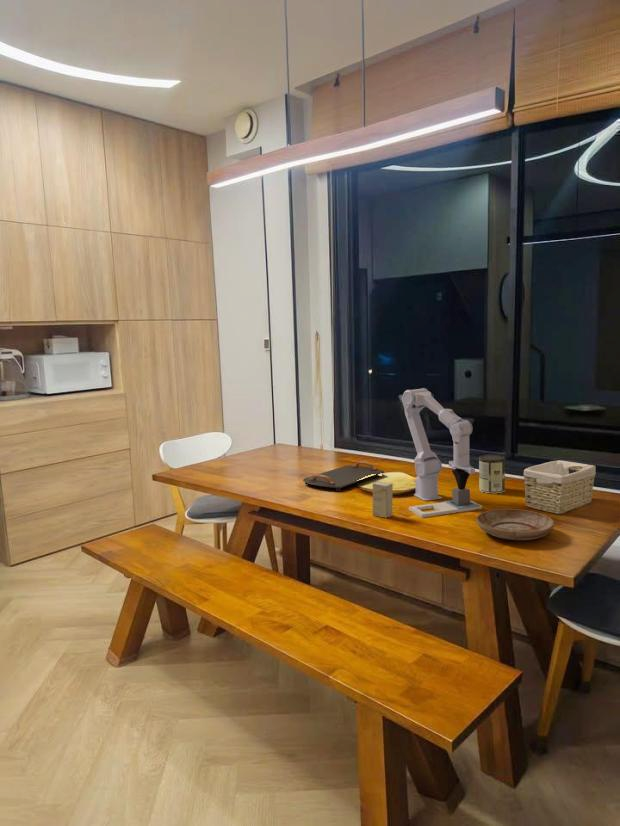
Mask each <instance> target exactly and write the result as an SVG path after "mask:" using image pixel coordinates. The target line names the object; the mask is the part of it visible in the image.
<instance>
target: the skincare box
mask: <svg viewBox="0 0 620 826" xmlns="http://www.w3.org/2000/svg"><path fill="white" fill-rule="evenodd" d="M393 486H394V485H393V483H390V482H386V481H382V480H381V481H380V480H379V481H376V482H373V483H372V516H375V517H378V516H379V518H382V517H385V518H384V519H388V518H390V517H392V516H393V492H394V491H393ZM387 517H388V518H387Z"/></svg>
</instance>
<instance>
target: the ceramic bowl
mask: <svg viewBox="0 0 620 826" xmlns="http://www.w3.org/2000/svg"><path fill="white" fill-rule="evenodd" d="M475 518H476V520H475V521H476V524H477V525H478V527H479V528H480V529H481V530H482V531H483V532H485V533H486V534H488V535H491V536H493V537H496V538H499V539H503V540H507V541H533V540H537V539H540V538H544V537H545V536H547V535H549V534H550V533H551V532H552V530H553V528H555V527H554V525H555V522H554V519H553V518H552V517H550V516H548V515H546V514H543V513H540V512H536V511H532V510H526V509H516V508H515V509H514V508H498V509H492V510H486V511H483V512H481V513H479V514H478V515H477V517H475Z"/></svg>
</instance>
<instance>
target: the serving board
mask: <svg viewBox="0 0 620 826" xmlns="http://www.w3.org/2000/svg"><path fill="white" fill-rule="evenodd" d="M363 465H365V466H363ZM380 473H382V474H385V471H384V470H383V469H380V468H376V467H375V466H374V465H373V464H372V463H371V462H369V461H365V460H363V461H357V462H356V463H355V464H352V465H344V466H340V467H337V468H334V469H331V470H328V471H325V472H321V473H319V474H318V473H317V474H314V475H312V476H307V477H305V478H303V479H302V481H303V482H304V485H305V484H309V485H313V486H315V487H316V486H317V487H324V488H332V489H334V488H335V491H336V490H337V491H339V492H341V488H345V487H347V486H351V485H354V484H356V483H357V482H356V481H357V480H359V479H361V478H363V477H365V476H368V475H371V474H380ZM337 491H336V492H337Z"/></svg>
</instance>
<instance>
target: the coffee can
mask: <svg viewBox="0 0 620 826" xmlns="http://www.w3.org/2000/svg"><path fill="white" fill-rule="evenodd" d="M505 462H506V457H505V456H503V455H498V454H483V455H480V456H478V473H479V474H478V475H479V476H478V479H479V480H478V482H479V483H478V485H479V486H478V488H479V489H478V490H480V491H481V493H483V492H485V493H484V494H487V493H492V494H491V495H498V494H497V493H500V494H503V492H504V493H506V490H505V489H506V487H505V486H506V485H505V484H506V481H505V479H506V478H505V477H506V474H505V473H506V472H505V471H506V463H505ZM480 491H479V492H480Z"/></svg>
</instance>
